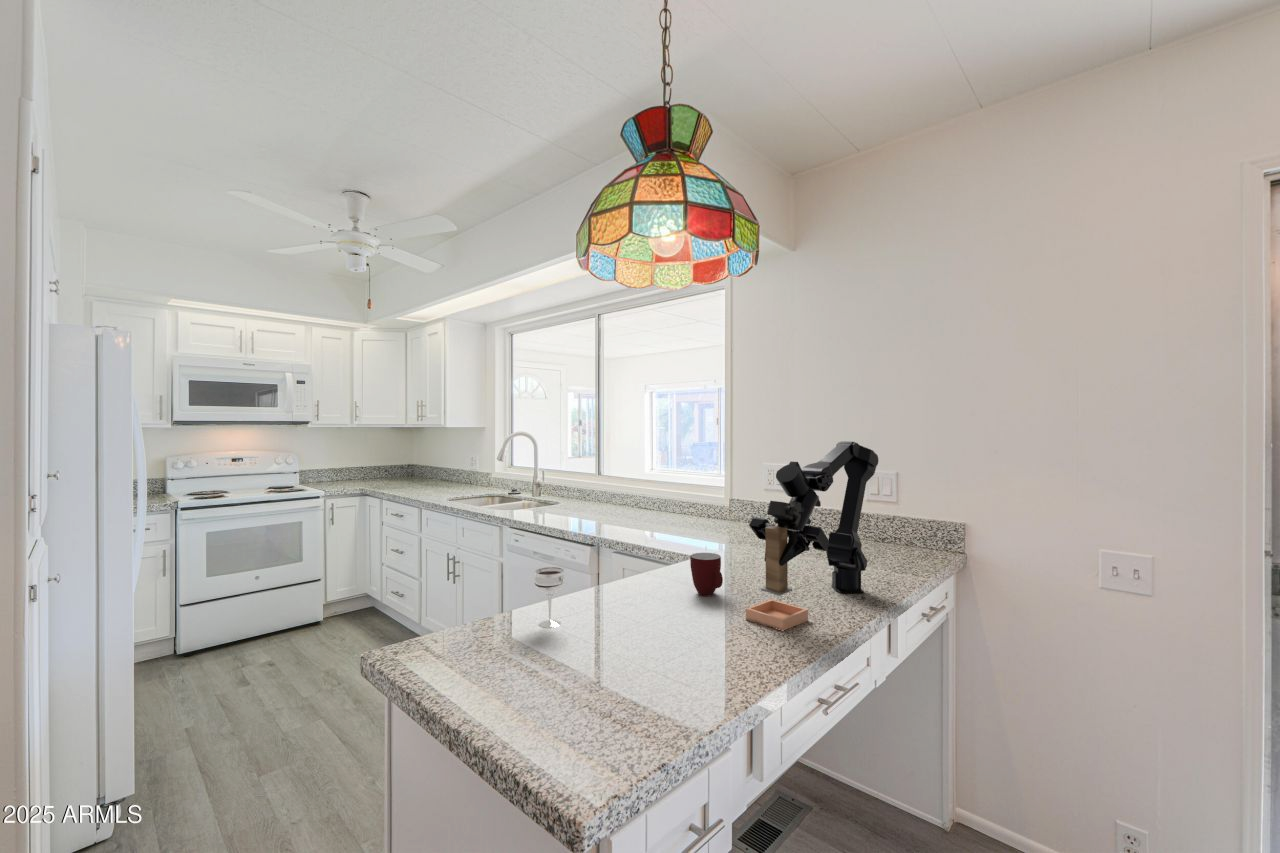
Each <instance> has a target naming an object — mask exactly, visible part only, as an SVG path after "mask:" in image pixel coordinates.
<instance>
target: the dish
mask: <svg viewBox="0 0 1280 853" xmlns="http://www.w3.org/2000/svg"><path fill="white" fill-rule="evenodd" d="M745 620H747V621H749V620H750V622H752V621H753V622H752V623H755V622H756V624H758V623H759V625H762V624H763V625H762V626H765V625H766V626H765V627H768V626H770V627H769V628H771V627H773V628H772V629H774V628H777V629H780V630H786V629H788V628H790V627H792V628H794V627H793V626H795V625H797V626H799V625H800V623H801V624H803V623H806V622H808V621H809V608H808V609H807V608H803V607H801V606H797V605H793V604H789V603H786V602H782V601H778V600H775V599H772V598H771V599H767V600H765V601H763V602H760V603H758V604H755V605H752V606H750V607H746V608H745ZM807 620H808V621H807ZM805 621H806V622H805ZM798 624H799V625H798ZM795 627H796V626H795ZM777 629H776V630H777ZM790 629H791V628H790ZM780 630H779V631H780ZM788 630H789V629H788ZM786 631H787V630H786Z"/></svg>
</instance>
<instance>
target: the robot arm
mask: <svg viewBox="0 0 1280 853" xmlns="http://www.w3.org/2000/svg"><path fill="white" fill-rule="evenodd" d="M878 465H879V456H878V454H877V453H876V452H875V451H874V450H872V449H870V448H868V447H866V446H862V445H860V444H859V443H858V442H855V441H838V442H837V443H836V445H835V447H834V448H832V449H831V450H830V451H829V452H828V453H827V454H826V455H825V456H823V457H822V458H821V459H820V460H819V461H817V462H814V463H810V464H809V463H808V464H807V465H805V466H803V467H801V465H800V463H799V462H798V461H790V462H789V463H788V464H787V465H784V466H782V467H781V468H780V469H777V471H776V473H775V478H776V480H777V482H778V483H779V485H780V487H781V488H782V490H783V491H784V493H785V494H786V496H788V497H790V500H789V502H785V501H779V500H777V501H776V500H770V501H769V504H768V507H767V508H768V509H767V512H766V515H768V516H771V517H773V521H774V523H775V524H777V526H779V527H785V528H787V546H786V548H785V550H784V552H783V554H782V556H781V558H780V561H779V564H780V566H783V565H784V564H786V563H787V564H788V562H790V561H792V560H793V559H794V558H796V557H797V556H799V555H801V554H802V553H804V552H809V551H810V549H811V548H810V544H812V547H813V549H814V550H817V551H822V552H826V559H827V562H828V563H827V564H828V566H830V567H831V566H832V567H833V571H831V572H832V573H831V579H832V581H831V587H832V588H833V589H835V591H837V592H838V593H840V594H864V593H865V590H863V589H862V572H865V571H866V569H867V566H868V559H867V557H866V556H865V554H864V553H863V551H862V546H863V545H862V540H861V539H860V537H859V534H858V531H859V526H860V519H861V514H862V509H863V503H864V497H865V494H866V487H867V482H868V481H869V480H870V479H871V478H872V477H873V476H874V475H875V473H876V469H877V467H878ZM841 468H843V470H844V471H845V474H846V476H847V481H846V485H845V486H846V487H845V491H844V492H845V493H844V499H843V504H842V506H841V508H842V509H841V511H840V512H841V514H840V518H839V523H838V528H837V529H836V530H835V531H830V533H829V535H828V537H827V535H826V533H825V532H824V530H823V529H822V527H820V526H815V525H811V523H812V520H811V515H812V513H813V511H814V509H815V507H818V508H820V507H821V504H822V503H821V500H820V496H819V495H818V494H817V493H816V492H827V491H828V490H829V488H830V487H831V486H832V484H833V483H834V475H836V473H838V471H840V470H841ZM775 524H773V523H771V522H770V521H769V520H768V518H763V517H762V518H761V517H753V518H751V521H750V522H749V524H748V526H749V528H750V529H751V530H752V531H753V533H754V535H755V537H757V538H758V539H760V540H762V541H766V538H765V528H767V527H771V526H776V525H775ZM764 561H765V562H766V548H765V551H764Z"/></svg>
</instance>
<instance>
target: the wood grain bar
mask: <svg viewBox="0 0 1280 853" xmlns="http://www.w3.org/2000/svg"><path fill="white" fill-rule="evenodd" d="M765 538H766V540H765V549H766V561H765V586H764V587H761V588H760V590H761V591H762V592H765V593H769V594H773V595H776V596H782V595H786V594H787V593H790V592H793V588H792V587H788V586H789V585H788V583H789V582H788V571H789V570H788V562H787V563H786V564H784V565H783V566H780V564H779V561H780V558H781V556H782V554H783V552H784V550H785V548H786V546H787V543H788V537H787V528H785V527H779V526H778V525H775V526H771V527H767V528H765Z"/></svg>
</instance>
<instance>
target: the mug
mask: <svg viewBox="0 0 1280 853" xmlns="http://www.w3.org/2000/svg"><path fill="white" fill-rule="evenodd" d="M689 561H690V562H689V563H690V565H689V566H690V571H691V572H690V573H691V576H692V583H693V585H694V588H695V590H696V591H697V594H698V595H700V596H706V597H707V596H713V595H714V594H715V592H716V590H717V589H719V588H721V587H722V585H723V581H724V579H723V574H722V571H721V569H722V568H721V567H722V556H721V555H720V554H717V553H712V552H696V553H692V554H690V560H689Z"/></svg>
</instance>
